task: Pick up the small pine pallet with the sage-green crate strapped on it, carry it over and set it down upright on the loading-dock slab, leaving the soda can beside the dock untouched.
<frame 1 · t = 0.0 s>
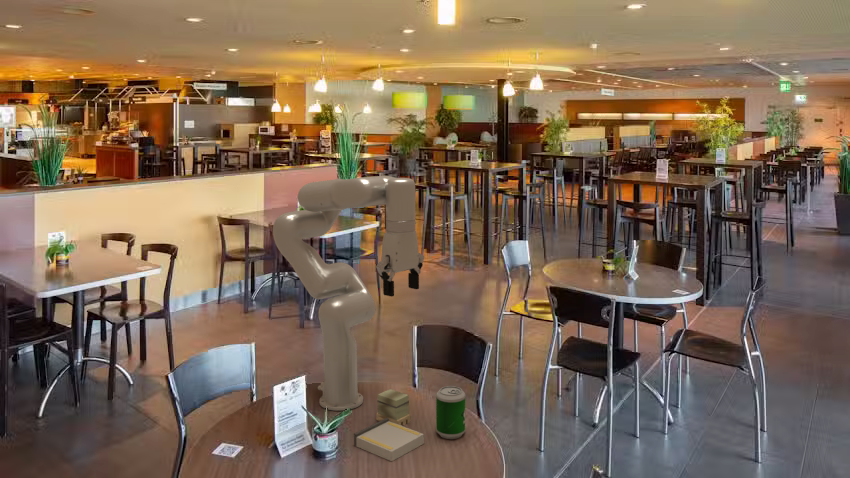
hand: (401, 291, 174), 37 cm above the table, tool pointing down, fingers open, 9 cm apart
loaded pallet: (393, 420, 183), on the table
soda can: (450, 434, 175), on the table
dock: (390, 444, 169), on the table
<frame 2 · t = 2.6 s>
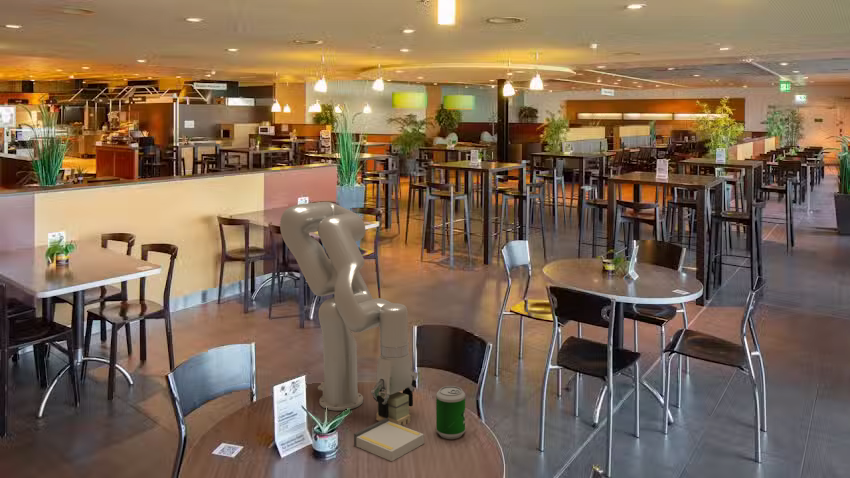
hand: (395, 410, 182), 3 cm above the table, tool pointing down, fingers open, 9 cm apart
nothing on the table moved.
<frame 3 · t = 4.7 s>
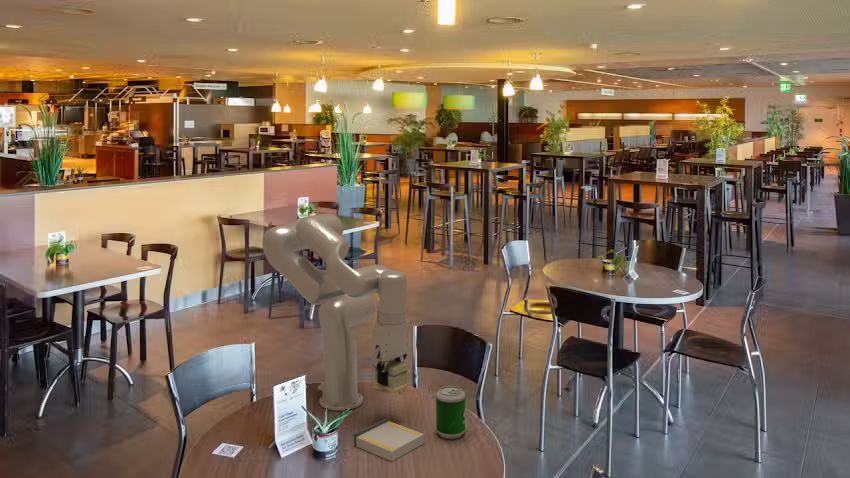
hand: (389, 380, 182), 11 cm above the table, tool pointing down, fingers closed on loaded pallet, 5 cm apart
loaded pallet: (390, 389, 182), point 9 cm above the table, touching gripper
everything else where it was.
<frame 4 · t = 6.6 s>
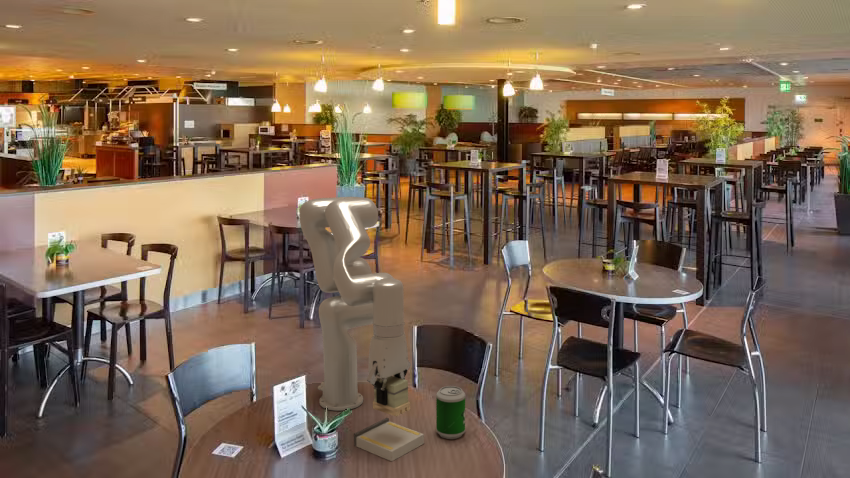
hand: (390, 399, 167), 12 cm above the table, tool pointing down, fingers closed on loaded pallet, 5 cm apart
loaded pallet: (391, 409, 167), point 10 cm above the table, touching gripper
everything else where it was.
when the fingers open (5 cm above the table, at t = 8.7 s): loaded pallet stays where it is, resting on dock.
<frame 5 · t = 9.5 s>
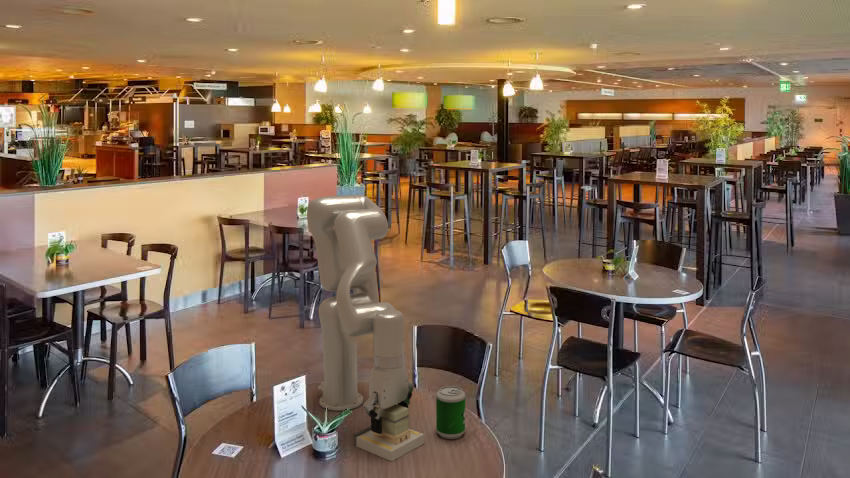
hand: (390, 425, 168), 5 cm above the table, tool pointing down, fingers open, 9 cm apart
loaded pallet: (391, 436, 168), point 2 cm above the table, touching dock
everything else where it was.
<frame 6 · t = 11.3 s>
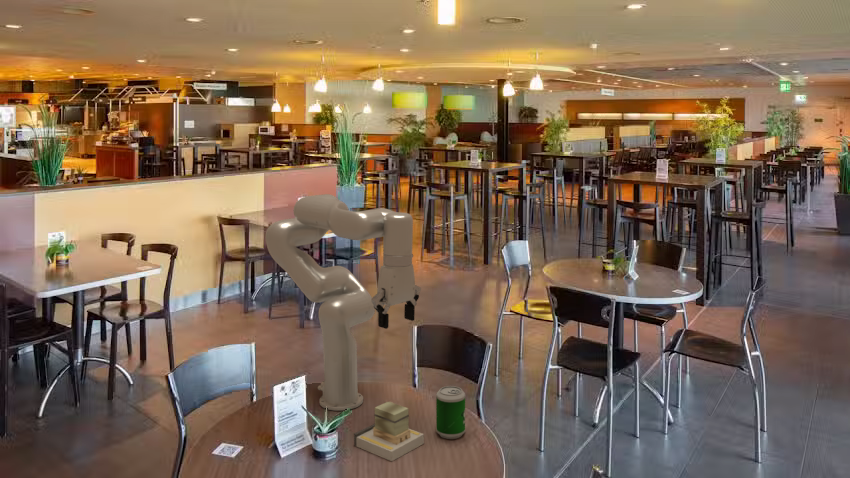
hand: (396, 323, 177), 28 cm above the table, tool pointing down, fingers open, 9 cm apart
nothing on the table moved.
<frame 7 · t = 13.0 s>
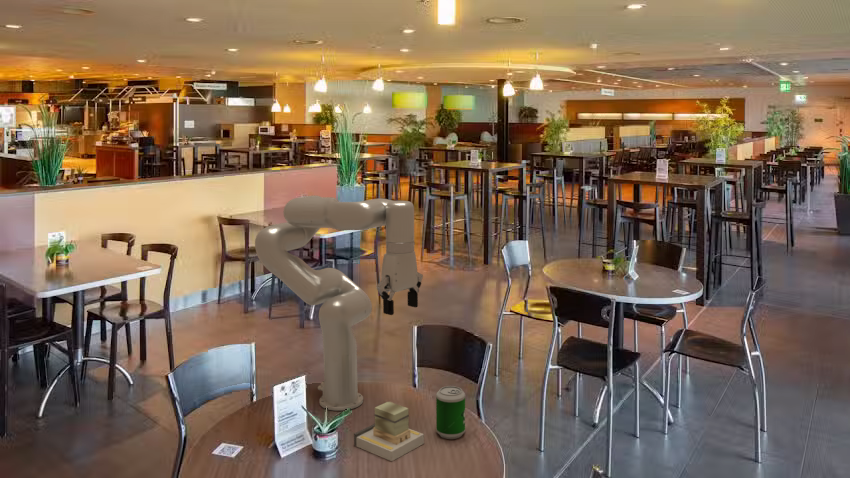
hand: (400, 310, 180), 30 cm above the table, tool pointing down, fingers open, 9 cm apart
nothing on the table moved.
at the end: loaded pallet inside the target area on the dock (0.6 cm from its centre), point 2.5 cm above the dock's base; loaded pallet tilted 0°; the gripper is holding nothing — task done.
